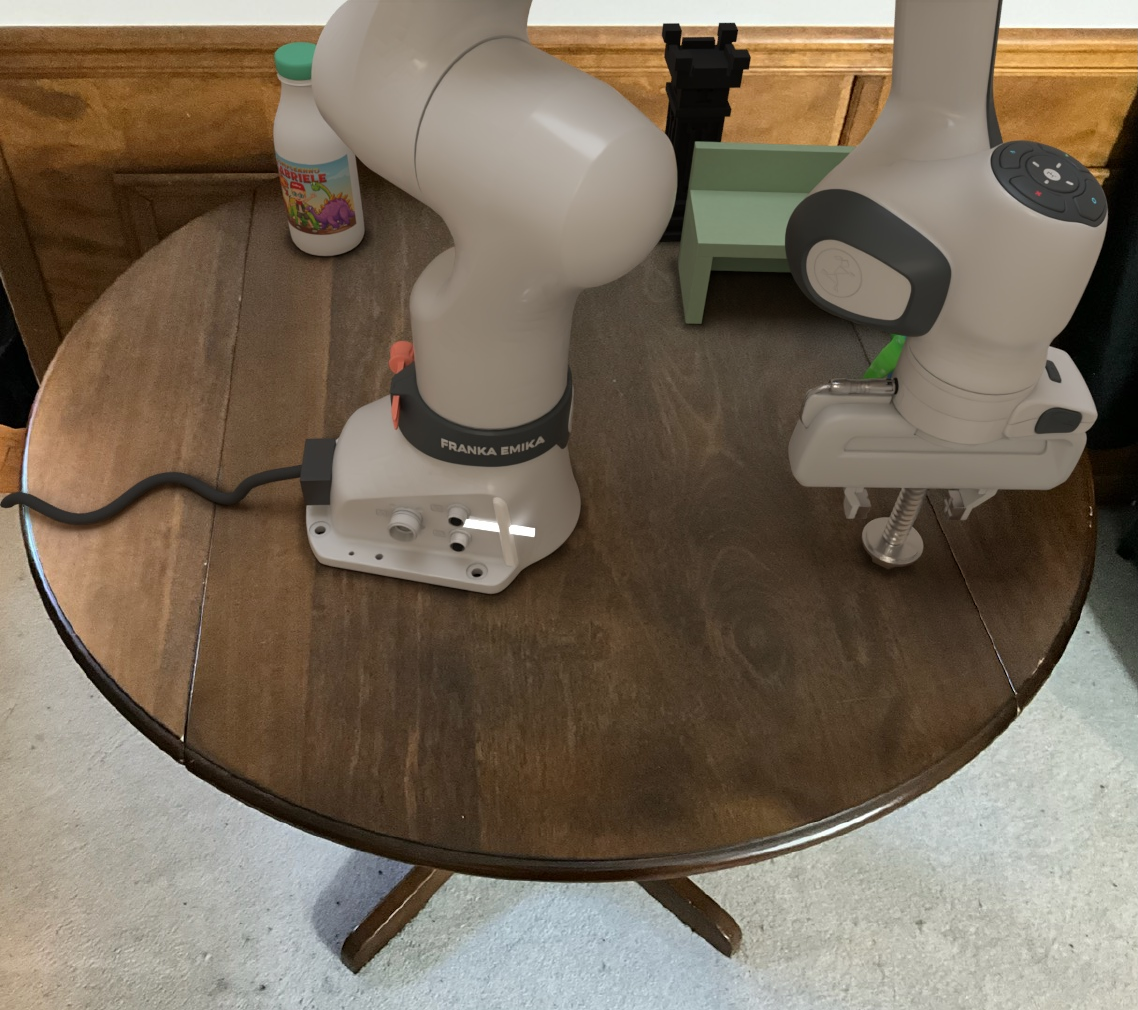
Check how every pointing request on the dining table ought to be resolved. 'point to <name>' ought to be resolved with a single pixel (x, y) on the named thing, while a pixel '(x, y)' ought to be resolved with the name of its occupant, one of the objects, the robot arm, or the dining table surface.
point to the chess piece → (697, 99)
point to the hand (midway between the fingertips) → (903, 513)
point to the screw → (896, 532)
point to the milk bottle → (313, 163)
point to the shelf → (744, 209)
